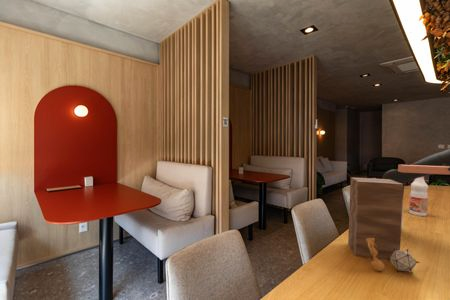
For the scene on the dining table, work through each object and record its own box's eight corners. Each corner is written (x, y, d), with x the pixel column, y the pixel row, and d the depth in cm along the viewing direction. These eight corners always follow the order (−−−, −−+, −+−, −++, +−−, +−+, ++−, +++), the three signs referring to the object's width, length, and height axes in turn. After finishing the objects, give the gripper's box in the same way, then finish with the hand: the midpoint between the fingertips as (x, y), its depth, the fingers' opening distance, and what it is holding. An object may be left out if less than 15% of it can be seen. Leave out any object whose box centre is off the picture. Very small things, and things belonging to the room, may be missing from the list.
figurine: (381, 277, 81) (383, 244, 80) (362, 270, 85) (363, 239, 84) (385, 268, 87) (387, 237, 86) (367, 262, 91) (368, 233, 91)
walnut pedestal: (348, 243, 107) (350, 177, 106) (386, 248, 103) (389, 179, 102) (355, 256, 96) (358, 181, 94) (399, 261, 91) (403, 184, 90)
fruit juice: (429, 217, 148) (431, 175, 147) (411, 214, 152) (413, 174, 151) (424, 213, 156) (426, 173, 155) (407, 211, 161) (409, 172, 160)
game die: (395, 279, 86) (377, 254, 89) (408, 267, 89) (390, 243, 92) (417, 280, 78) (396, 252, 81) (430, 267, 81) (409, 241, 84)
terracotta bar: (397, 171, 100) (398, 164, 100) (459, 174, 94) (459, 166, 94) (401, 172, 97) (402, 165, 97) (465, 175, 91) (465, 167, 91)
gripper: (482, 179, 96) (441, 158, 100) (514, 185, 83) (465, 160, 86) (470, 193, 98) (430, 172, 101) (500, 202, 84) (452, 176, 88)
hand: (446, 167), depth 94 cm, fingers closed on terracotta bar, 3 cm apart
